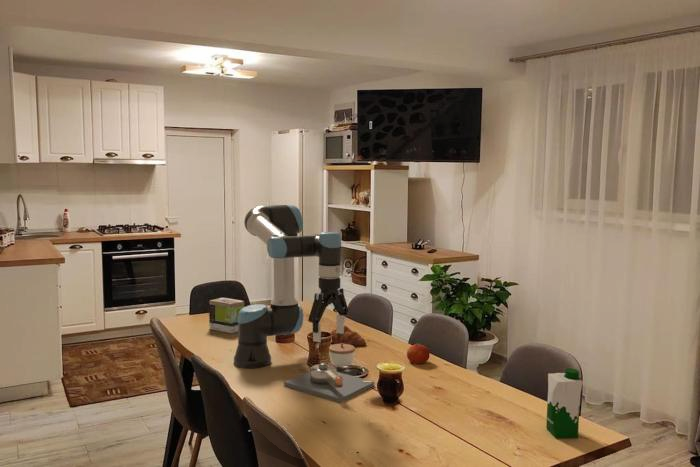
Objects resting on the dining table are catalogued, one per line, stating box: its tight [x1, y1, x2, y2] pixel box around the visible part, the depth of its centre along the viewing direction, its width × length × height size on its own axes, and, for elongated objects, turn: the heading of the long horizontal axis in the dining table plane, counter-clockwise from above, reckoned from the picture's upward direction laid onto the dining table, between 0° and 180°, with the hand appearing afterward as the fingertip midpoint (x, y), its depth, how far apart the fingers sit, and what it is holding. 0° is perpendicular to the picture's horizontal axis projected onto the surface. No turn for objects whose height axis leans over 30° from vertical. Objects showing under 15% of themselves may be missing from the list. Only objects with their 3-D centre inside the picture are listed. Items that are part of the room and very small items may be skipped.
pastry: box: [329, 324, 367, 347], centre depth 277 cm, size 17×15×8 cm
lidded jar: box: [328, 343, 356, 368], centre depth 244 cm, size 11×11×9 cm
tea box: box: [208, 297, 245, 334], centre depth 295 cm, size 15×10×15 cm, turn 58°
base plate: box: [283, 370, 375, 403], centre depth 221 cm, size 26×21×2 cm
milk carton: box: [545, 368, 584, 439], centre depth 184 cm, size 9×9×20 cm
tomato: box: [406, 343, 431, 364], centre depth 250 cm, size 9×9×8 cm
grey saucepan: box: [309, 362, 343, 390], centre depth 218 cm, size 22×10×6 cm, turn 24°
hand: (328, 337), depth 208 cm, fingers open, 13 cm apart
